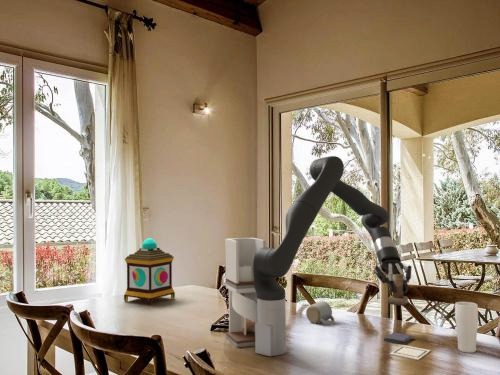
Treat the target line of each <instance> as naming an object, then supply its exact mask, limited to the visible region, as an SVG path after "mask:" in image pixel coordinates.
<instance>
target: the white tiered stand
mask: <svg viewBox="0 0 500 375" xmlns="http://www.w3.org/2000/svg"><path fill="white" fill-rule="evenodd" d="M224 242H225V243H224V244H225V288H226V289H228V331H227V332H226V331H225V339H226V340H228V341H229V342H230V343H231V344H232V345H233V346H234V347H235V348H244V347H251V346H252V347H253V346H255V324H256V323H257V293H256V290H255V287H254V273H253V260H254V256H255V253H256V252H257V250H258V249H260V248H263V247H266V246H267V244H266V239H262V238H256V237H239V238H238V237H236V238H225V241H224Z"/></svg>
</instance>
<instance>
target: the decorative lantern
mask: <svg viewBox="0 0 500 375" xmlns="http://www.w3.org/2000/svg"><path fill="white" fill-rule="evenodd" d="M157 245H158V244H157V242H156V240H154V239H153V238H151V237H150V238H146V239H145V240H144V241H143V242H142V245H141V247H140V248H138V250H137V251H135V252H133V253H131V254H129V255H127V256H126V257H125V258H124V261H125V263H126V275H127V276H126V290H125V293H124V295H123V300H124V302H126V303H127V302H129V301H128V300H129V298H134V299H142V300H147V301H148V305H149V306H152V305H153V300H154V299H158V298H162V297H167V296H170V298H171V300H174V299H175V297H176V293H175V291H174V288H173V283H172V282H173V280H172V279H173V272H172V270H173V269H172V268H173V261H174V258H175V257H174V256H173V255H172V254H170V252H165V251H163V250H162V249H161V248H160V247H157Z"/></svg>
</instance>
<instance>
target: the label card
mask: <svg viewBox="0 0 500 375" xmlns="http://www.w3.org/2000/svg"><path fill="white" fill-rule="evenodd" d="M431 351H432V350H431V349H427V348H426V349H425V348H419V347H415V346H411V345H406V344H404V345H403V344H402V345H401V346H399V347H397V348H396V349H395V350H393V351H391V352H390V353H389V355H390V356H395V357H400V358H406V359H411V360H415V361H419V360H421V359H422V358H423V357H425V356H426V355H427V354H429V353H430V352H431Z"/></svg>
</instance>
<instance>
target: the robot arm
mask: <svg viewBox="0 0 500 375" xmlns="http://www.w3.org/2000/svg"><path fill="white" fill-rule="evenodd" d="M344 168H345V165H344V162H343V160H342V158H340V157H338V156H336V155H330V156H325V157H321V158H318V159H315V160H313V161H312V162H311V164H310V165H309V175H310V177H311V178H312V179H313V180H314V182H313V183H312V184H311V185H309V187H308V188H306V189H305V190H304V191H302V193H299V195H298V196H297V197H296V198H295V199H294V200H293V203H292V204H291V205H290V207H289V209H288V211H287V212H286V214H285V234H284V237H283V239H282V240H281V242H280V244H279V246H277V247H276V248H275V247H263V248H260V249H258V250H257V252H256V253H255V256H254V260H253V273H254V287H255V290H256V293H257V323H256V324H255V345H254V346H255V347H254V348H255V350H254V351H255V352H254V353H256V354H258V355H263V356H268V357H273V356H274V357H275V356H281V355H283V354H285V353H286V351H287V348H286V347H287V345H286V344H287V343H286V342H287V340H286V336H287V332H286V330H287V329H286V328H287V327H286V323H287V322H286V317H287V316H286V290H285V288H284V287H283V286H282V285H280V284H279V283H278V281H277V280H276V279H279V278H283V277H284V276H285V275H287V274H288V272H289V271H290V269H291V266H292V264H293V263H294V260H295V258H296V255H297V253H298V252H299V249H300V246H301V245H302V243H303V240H304V239H305V236H306V235H307V233H308V232H309V230H310V228H311V227H312V226H313V223H314V221H315V220H316V218H317V216H318V214H319V213H320V211H321V208H322V207H323V205H324V204H325V202H326V200H327V199H328V197H329V195H330V193H332V194H333V195H335V196H336V197H338V198H339V199H340V200H342V201H343V202H344V203H345V204H346V205H347V206H348V207H349V208H350V209H351V210H352V211H353V212H354V213H355V214H356V215H358V216H360V217H361V221H360V222H361V224H362V226H363V227H364V228H365V230H366V231H367V232H368V234H369V235H370V237H371V240H372V243H373V246H374V251H375V255H376V257H377V260H378V264H379V266H377V265H376V266H375V267H374V269H373V272H374V273H373V274H375V275H376V277H377V278H378V279H379V280H380V282H381V283H382V284H387V285H388V288H389V291H390V292H391V293H392V294H393V293H395V292H396V287H395V285H394V282H393V281H392V274H403V294H406V293H408V291H409V282H410V281H411V279H412V278H411V277H412V269H413V268H412V265H404V264H403V263H402V261H401V257H400V254H399V252H398V249H397V247H396V244H395V242H394V240H393V237H392V234H391V232H390V230H389V228H388V227H386V226H384V225H385V224H387V223H388V222H389V220H390V215H389V213H388V211H387V210H386V209H385V207H383V206H381V205H379V204H377V203H376V202H373V201H372V200H370V199H369V198H368V197H367V196H366V195H365V194H364V193H363V192H362V191H361V190H360V189H357V188H356V187H354V186H352V185H350V184H348V183H346V182H343V181H342V180H341V179H342V177H343V174H344ZM403 270H404V271H403Z"/></svg>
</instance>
